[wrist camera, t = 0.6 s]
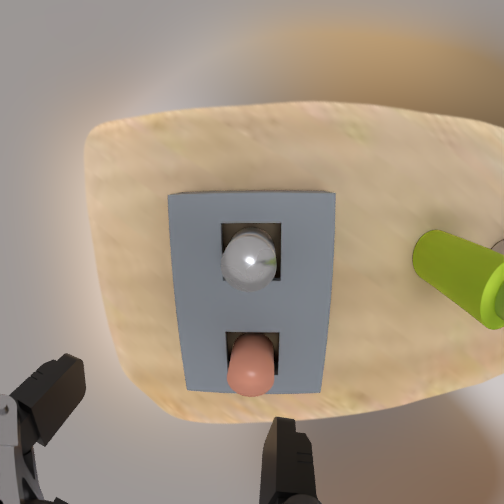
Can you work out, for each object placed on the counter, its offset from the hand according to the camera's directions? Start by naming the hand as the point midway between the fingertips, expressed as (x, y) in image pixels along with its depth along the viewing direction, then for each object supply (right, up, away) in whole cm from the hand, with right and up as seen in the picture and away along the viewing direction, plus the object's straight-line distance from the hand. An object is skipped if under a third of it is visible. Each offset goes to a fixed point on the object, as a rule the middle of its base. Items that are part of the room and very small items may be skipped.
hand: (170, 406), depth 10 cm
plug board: (+3, +2, +21) cm, 22 cm away
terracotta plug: (+3, -4, +19) cm, 19 cm away
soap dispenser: (+23, +5, +20) cm, 31 cm away
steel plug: (+3, +6, +16) cm, 18 cm away
